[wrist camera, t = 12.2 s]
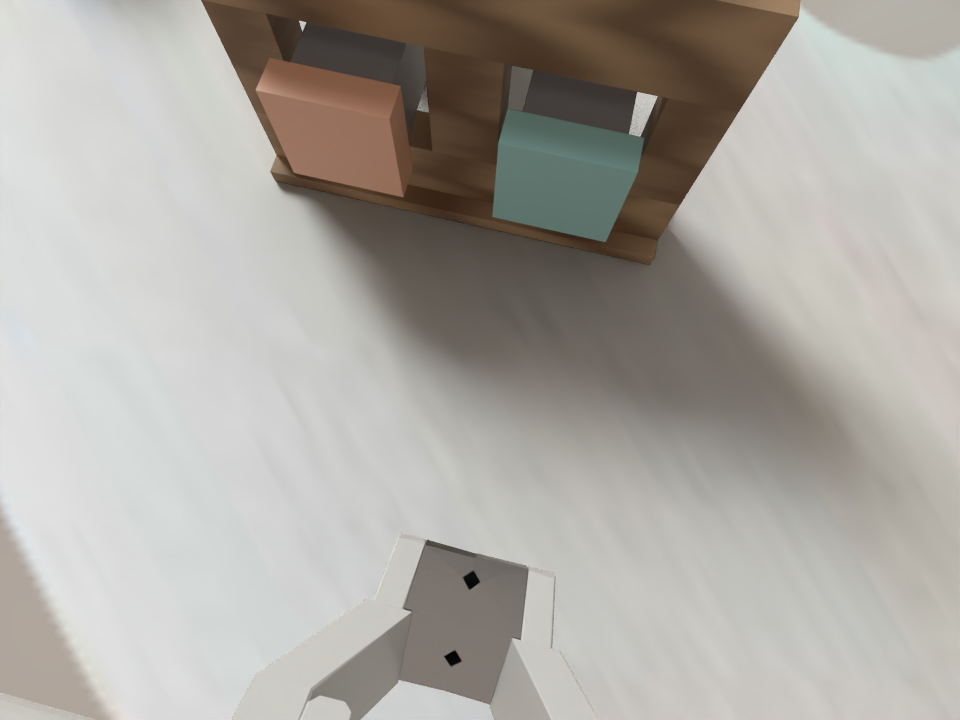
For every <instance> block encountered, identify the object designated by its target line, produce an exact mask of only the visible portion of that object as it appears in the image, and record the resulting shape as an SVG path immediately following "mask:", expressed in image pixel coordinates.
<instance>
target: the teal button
mask: <svg viewBox="0 0 960 720" xmlns="http://www.w3.org/2000/svg"><path fill="white" fill-rule="evenodd" d="M636 94H637V92H636V91H632V90H627V89H622V88H617V87H613V86H608V85H603V84H598V83H594V82H589V81H584V80H579V79H575V78H570V77H565V76H560V75H556V74H551V73H546V72H541V71H537V70H533V74H532V77H531V81H530V85H529V89H528V93H527V96H526V100H525V104H524V108H523V112H522V111H517V110H512V109H508V110H507V113H506V117H505V121H504V124H503V128H502V132H501V135H500V139H499V143H498V155H497V167H496V179H495V192H494V204H493V216H492V217H495V218H499V219H504V220H508V221H513V222H517V223H522V224H526V225H531V226H535V227H540V228H544V229H549V230H553V231H558V232H562V233H566V234H571V235H575V236H580V237H584V238H589V239H593V240H598V241H602V242H606V240H607V238H608V236H609V234H610V232H611V229H612V227H613V225H614V223H615V221H616V219H617V216H618V214H619V212H620V210H621V208H622V206H623V203H624V201H625V199H626V197H627V195H628V193H629V191H630V188H631V186H632V184H633V182H634V180H635V178H636V175H637V173H638V169H639V163H640V158H641V152H642V147H643V142H644V138H643V137H638V136H634V135H629V130H630V125H631V120H632V115H633V110H634V104H635V99H636Z"/></svg>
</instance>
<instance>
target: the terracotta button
mask: <svg viewBox="0 0 960 720" xmlns="http://www.w3.org/2000/svg"><path fill="white" fill-rule="evenodd" d="M425 83H426V70H425V59H424V47H423V46H418V45H413V44H408V43H404V42H399V41H394V40H389V39H385V38H380V37H375V36H370V35H366V34H361V33H356V32H351V31H347V30H342V29H337V28H332V27H328V26H323V25H318V24H313V23H309V22H307V23H306V25H305V28H304V30H303V33H302V35H301V37H300V40H299V42H298V45H297V47H296V49H295V52H294V54H293V56H292V59H291V61H290V62H287V61H282V60H278V59H273V58H269V60H268V62H267V65H266V67H265V69H264V72H263V74H262V76H261V79H260V81H259V83H258V86H257V88H256V92H257V94H258V96H259V99H260V101H261V103H262V105H263V107H264V109H265V112H266V114H267V116H268V118H269V120H270V122H271V124H272V127H273V129H274V131H275V133H276V135H277V137H278V140H279V142H280V144H281V146H282V148H283V150H284V153H285V155H286V157H287V159H288V161H289V163H290V165H291V168H292V170H293V172H294V173H297V174H301V175H306V176H310V177H315V178H319V179H324V180H328V181H333V182H337V183H342V184H346V185H351V186H355V187H359V188H364V189H368V190H373V191H377V192H382V193H386V194H391V195H395V196H400V197H404V194H405V191H406V187H407V184H408V181H409V178H410V175H411V172H412V162H411V155H410V148H409V141H408V135H409V132H410V129H411V126H412V123H413V120H414V117H415V114H416V110H417V107H418V104H419V101H420V98H421V95H422V92H423V89H424V86H425Z"/></svg>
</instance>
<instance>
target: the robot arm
mask: <svg viewBox="0 0 960 720" xmlns="http://www.w3.org/2000/svg"><path fill="white" fill-rule="evenodd" d="M555 578H556V577H555V574H554V572H550V571H546V570H542V569H538V568H534V567H530V566H528V567H527V566H526V565H522V564H518V563H514V562H510V561H506V560H502V559H498V558H494V557H489V556H485V555H481V554H475V553H472V552H468V551H465V550H461V549H458V548H454V547H451V546H447V545H444V544H440V543H437V542H433V541H430V540H427V541H426V540H424V539H421V538H417V537H414V536H411V535H407V534H404V533H401V534H400V535H399V537H398V538H397V540H396V543H395V546H394V548H393V551H392V553H391V556H390V559H389V561H388V564H387V566H386V569H385V571H384V574H383V577H382V579H381V582H380V584H379V587H378V589H377V592H376V595H375V597H374V600H373V601H371V600H367V599H365V600H363V601H362V602H360V603H359V604H358V605H356V606H355V607H353V608H352V609H350V610H349V611H347V612H346V613H344V614H343V615H342V616H340V617H339V618H337V619H336V620H334V621H333V622H331V623H330V624H328V625H327V626H326V627H324V628H323V629H321V630H320V631H318V632H317V633H315V634H314V635H312V636H311V637H309V638H308V639H307V640H305V641H304V642H302V643H301V644H299V645H298V646H296V647H295V648H293V649H292V650H291V651H289V652H288V653H286V654H285V655H283V656H282V657H280V658H279V659H277V660H276V661H274V662H273V663H272V664H270V665H269V666H267V667H266V668H264V669H263V670H261V671H260V672H258V673H257V674H256V675H255V676H254V678H253V680H252V682H251V684H250V686H249V688H248V689H247V691H246V693H245V695H244V697H243V699H242V701H241V702H240V704H239V706H238V708H237V710H236V712H235V714H234V715H233V717H232V719H231V720H360V719H361V718H362V717H364V716H365V715H366V714H367V713H368V712H369V711H370V710H371V709H372V708H373V707H374V706H375V705H376V704H377V703H378V702H379V701H380V700H381V699H382V698H383V697H384V696H385V695H386V694H387V693H388V692H389V691H390V690H391V689H392V688H393V687H394V686H395V685H396V684H397V683H398V680H402V681H406V682H410V683H415V684H419V685H423V686H427V687H431V688H435V689H440V690H445V691H447V692H450V693H454V694H457V695H460V696H464V697H467V698H470V699H474V700H477V701H480V702H484V703H487V704H490V709H491V712H492V715H493V718H494V720H599V719H598V717H597V715H596V713H595V712H594V710H593V708H592V706H591V705H590V703H589V701H588V699H587V697H586V696H585V694H584V692H583V690H582V689H581V687H580V685H579V683H578V682H577V680H576V678H575V676H574V675H573V673H572V671H571V669H570V667H569V666H568V664H567V662H566V660H565V659H564V657H563V655H562V653H561V652H560V651H559V650H555V649H552V642H553V620H554V599H555ZM0 720H95V719H92V718H88V717H84V716H81V715H78V714H74V713H71V712H67V711H63V710H60V709H56V708H53V707H49V706H46V705H42V704H39V703H35V702H32V701H28V700H25V699H21V698H17V697H14V696H10V695H7V694H3V693H0Z"/></svg>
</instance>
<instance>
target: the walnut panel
mask: <svg viewBox="0 0 960 720" xmlns="http://www.w3.org/2000/svg"><path fill="white" fill-rule="evenodd" d="M201 1H202V3H203V5H204V7H205V9H206V11H207V13H208V15H209V17H210V19H211V21H212V23H213V25H214V27H215V29H216V32H217V34H218V36H219V38H220V40H221V42H222V44H223V46H224V48H225V50H226V52H227V54H228V56H229V58H230V60H231V62H232V64H233V66H234V68H235V71H236V73H237V75H238V77H239V79H240V81H241V83H242V85H243V87H244V89H245V91H246V93H247V95H248V97H249V99H250V101H251V103H252V105H253V108H254V110H255V112H256V114H257V116H258V118H259V120H260V122H261V124H262V126H263V128H264V130H265V132H266V134H267V136H268V138H269V140H270V142H271V144H272V147H273V149H274V151H275V153H276V155H277V156H276V159H275V161H274V164H273V166H272V169H271V171H270V172H271V174H272V176H273V178H274V179H275V181H279V182H284V183H288V184H292V185H297V186H301V187H306V188H310V189H315V190H319V191H324V192H328V193H333V194H337V195H341V196H346V197H350V198H355V199H359V200H364V201H368V202H373V203H377V204H382V205H386V206H390V207H395V208H399V209H404V210H408V211H413V212H417V213H422V214H426V215H431V216H435V217H439V218H444V219H448V220H453V221H457V222H462V223H466V224H471V225H475V226H480V227H484V228H488V229H493V230H497V231H502V232H506V233H511V234H515V235H520V236H524V237H529V238H533V239H537V240H542V241H546V242H551V243H555V244H560V245H564V246H569V247H573V248H578V249H582V250H586V251H591V252H595V253H600V254H604V255H609V256H613V257H618V258H622V259H627V260H631V261H635V262H640V263H644V264H649V265H650V264H651V262H652V261H653V259H654V258H655V253H656V247H657V241H658V239H659V237H660V236H661V234H662V232H663V231H664V229H665V228H666V226H667V225H668V223H669V221H670V220H671V218H672V217H673V215H674V213H675V212H676V210H677V209H678V207H679V206H680V204H681V202H682V201H683V199H684V198H685V196H686V194H687V193H688V191H689V190H690V188H691V187H692V185H693V183H694V182H695V180H696V179H697V177H698V175H699V174H700V172H701V171H702V169H703V168H704V166H705V164H706V163H707V161H708V160H709V158H710V157H711V155H712V153H713V152H714V150H715V149H716V147H717V145H718V144H719V142H720V141H721V139H722V138H723V136H724V134H725V133H726V131H727V130H728V128H729V126H730V125H731V123H732V122H733V120H734V119H735V117H736V115H737V114H738V112H739V111H740V109H741V107H742V106H743V104H744V103H745V101H746V100H747V98H748V96H749V95H750V93H751V92H752V90H753V89H754V87H755V85H756V84H757V82H758V81H759V79H760V77H761V76H762V74H763V73H764V71H765V70H766V68H767V66H768V65H769V63H770V62H771V60H772V58H773V57H774V55H775V54H776V52H777V51H778V49H779V47H780V46H781V44H782V43H783V41H784V39H785V38H786V36H787V35H788V33H789V32H790V30H791V28H792V27H793V25H794V24H795V22H796V21H797V19H798V17H799V9H800V0H201ZM299 21H304V22H309V23H313V24H318V25H323V26H328V27H332V28H337V29H342V30H347V31H351V32H356V33H361V34H366V35H370V36H375V37H380V38H385V39H389V40H394V41H399V42H404V43H408V44H413V45H418V46H423V47H424V59H425V70H426V82H427V94H428V106H429V113H427V112H422V111H418V110H416V114H415V117H414V120H413V123H412V126H411V129H410V132H409V135H408V141H409V148H410V155H411V162H412V172H411V175H410V178H409V181H408V184H407V187H406V191H405V194H404V197H400V196H395V195H391V194H386V193H382V192H377V191H373V190H368V189H364V188H359V187H355V186H351V185H346V184H342V183H337V182H333V181H328V180H324V179H319V178H315V177H310V176H306V175H301V174H297V173H294V172H293V170H292V168H291V165H290V163H289V161H288V159H287V157H286V155H285V153H284V150H283V148H282V146H281V144H280V142H279V140H278V137H277V135H276V133H275V131H274V129H273V127H272V124H271V122H270V120H269V118H268V116H267V114H266V112H265V109H264V107H263V105H262V103H261V101H260V99H259V96H258V94H257V92H256V88H257V86H258V83H259V81H260V79H261V76H262V74H263V72H264V69H265V67H266V65H267V62H268V60H269V58H273V59H278V60H282V61H287V62H290V61H291V59H292V56H293V54H294V52H295V49H296V47H297V45H298V42H299V40H300V37H301V35H302V30H301V26H300V23H299ZM512 65H513V66H518V67H522V68H527V69H532V70H537V71H541V72H546V73H551V74H556V75H560V76H565V77H570V78H575V79H579V80H584V81H589V82H594V83H598V84H603V85H608V86H613V87H617V88H622V89H627V90H632V91H636V92H641V93H646V94H651V95H655V96H658V97H657V100H656V102H655V104H654V107H653V109H652V111H651V114H650V116H649V118H648V121H647V123H646V125H645V128H644V130H643V132H642V135H641V137H643V138H644V142H643V147H642V152H641V158H640V163H639V169H638V173H637V175H636V178H635V180H634V182H633V184H632V186H631V188H630V191H629V193H628V195H627V197H626V199H625V201H624V203H623V206H622V208H621V210H620V212H619V214H618V216H617V219H616V221H615V223H614V225H613V227H612V229H611V232H610V234H609V236H608V238H607V240H606V242H602V241H598V240H593V239H589V238H584V237H580V236H575V235H571V234H566V233H562V232H558V231H553V230H549V229H544V228H540V227H535V226H531V225H526V224H522V223H517V222H513V221H508V220H504V219H499V218H495V217H492V216H493V204H494V192H495V179H496V167H497V155H498V143H499V139H500V135H501V132H502V128H503V124H504V121H505V117H506V113H507V109H508V99H509V88H510V78H511V68H512Z"/></svg>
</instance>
